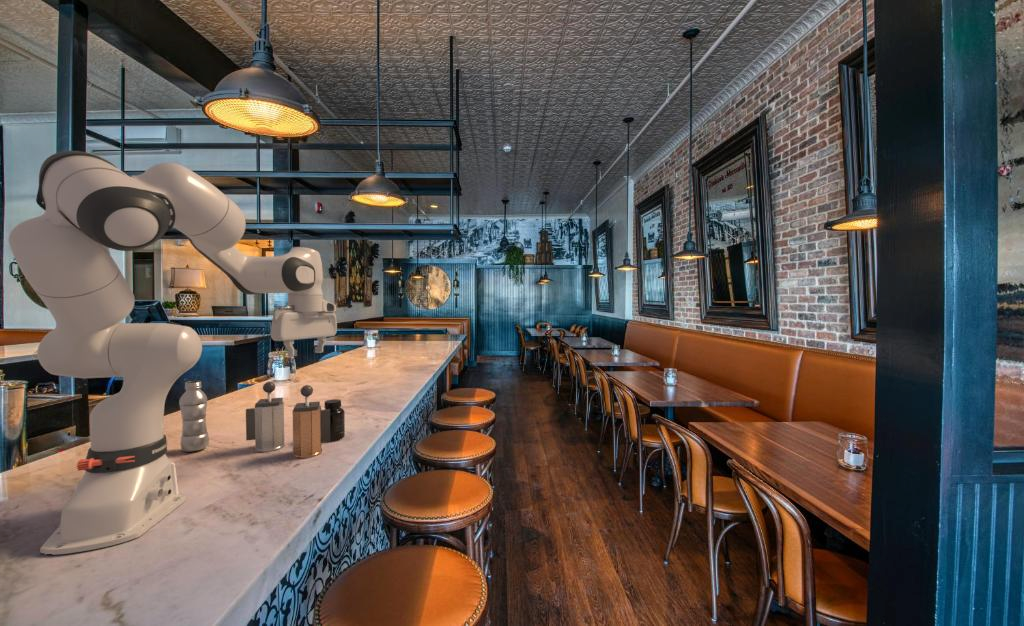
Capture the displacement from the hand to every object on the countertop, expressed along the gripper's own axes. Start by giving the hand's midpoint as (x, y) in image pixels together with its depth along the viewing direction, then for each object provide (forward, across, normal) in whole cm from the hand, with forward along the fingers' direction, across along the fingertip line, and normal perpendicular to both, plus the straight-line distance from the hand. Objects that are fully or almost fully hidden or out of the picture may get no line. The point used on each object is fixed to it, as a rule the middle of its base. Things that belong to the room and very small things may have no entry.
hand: (306, 354), depth 114 cm
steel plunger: (+23, +1, +14) cm, 27 cm away
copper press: (+28, +1, -1) cm, 28 cm away
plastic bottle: (+28, -8, +33) cm, 44 cm away
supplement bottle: (+28, +13, +2) cm, 31 cm away
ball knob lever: (+23, 0, 0) cm, 23 cm away
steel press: (+28, 0, +15) cm, 32 cm away
